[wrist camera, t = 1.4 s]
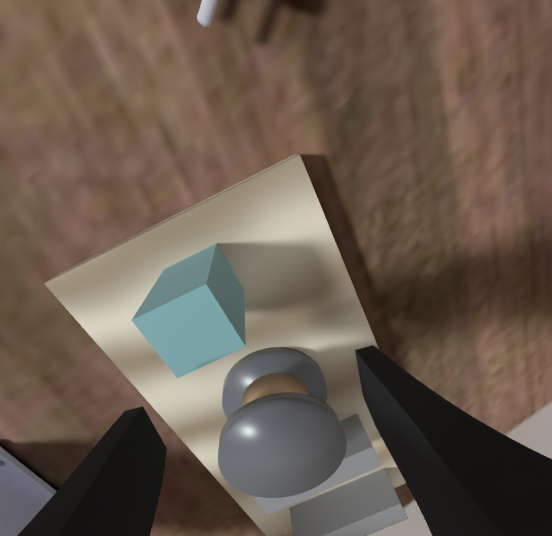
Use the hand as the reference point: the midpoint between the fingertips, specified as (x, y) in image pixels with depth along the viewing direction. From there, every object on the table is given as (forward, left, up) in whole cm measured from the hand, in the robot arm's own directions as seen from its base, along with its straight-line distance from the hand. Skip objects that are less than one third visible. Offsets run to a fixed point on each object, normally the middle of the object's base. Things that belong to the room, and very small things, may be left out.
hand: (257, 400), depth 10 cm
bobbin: (+6, -2, -7) cm, 10 cm away
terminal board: (+7, -2, -9) cm, 11 cm away
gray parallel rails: (+15, -2, -7) cm, 17 cm away
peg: (-2, -2, -7) cm, 8 cm away
